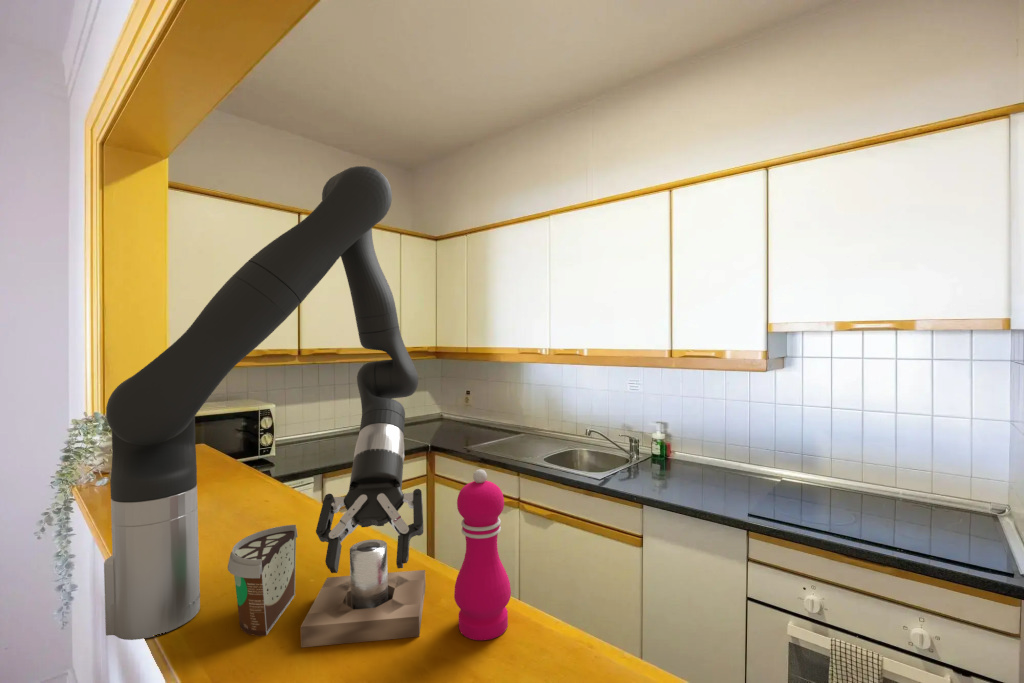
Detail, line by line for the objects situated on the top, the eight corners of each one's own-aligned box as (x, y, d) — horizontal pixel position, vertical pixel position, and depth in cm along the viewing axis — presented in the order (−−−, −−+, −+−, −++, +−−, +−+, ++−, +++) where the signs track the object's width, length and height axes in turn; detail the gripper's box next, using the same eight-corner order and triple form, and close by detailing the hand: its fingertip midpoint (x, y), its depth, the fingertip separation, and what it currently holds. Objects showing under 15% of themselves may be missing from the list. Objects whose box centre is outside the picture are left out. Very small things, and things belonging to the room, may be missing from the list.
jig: (301, 647, 57) (300, 626, 57) (327, 594, 69) (327, 577, 69) (419, 636, 59) (418, 616, 59) (425, 586, 71) (425, 569, 71)
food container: (256, 592, 70) (254, 525, 70) (298, 590, 71) (297, 523, 71) (208, 646, 58) (206, 564, 58) (261, 643, 58) (259, 561, 58)
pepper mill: (460, 649, 56) (456, 480, 56) (450, 615, 63) (447, 465, 63) (518, 637, 58) (515, 474, 58) (503, 605, 65) (500, 460, 65)
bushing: (347, 625, 62) (345, 555, 62) (355, 605, 66) (353, 540, 66) (385, 622, 62) (384, 553, 62) (390, 602, 67) (389, 538, 67)
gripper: (326, 449, 71) (303, 562, 59) (423, 444, 72) (419, 553, 61) (336, 475, 76) (316, 583, 65) (426, 470, 78) (423, 574, 66)
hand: (366, 568), depth 63 cm, fingers open, 8 cm apart
